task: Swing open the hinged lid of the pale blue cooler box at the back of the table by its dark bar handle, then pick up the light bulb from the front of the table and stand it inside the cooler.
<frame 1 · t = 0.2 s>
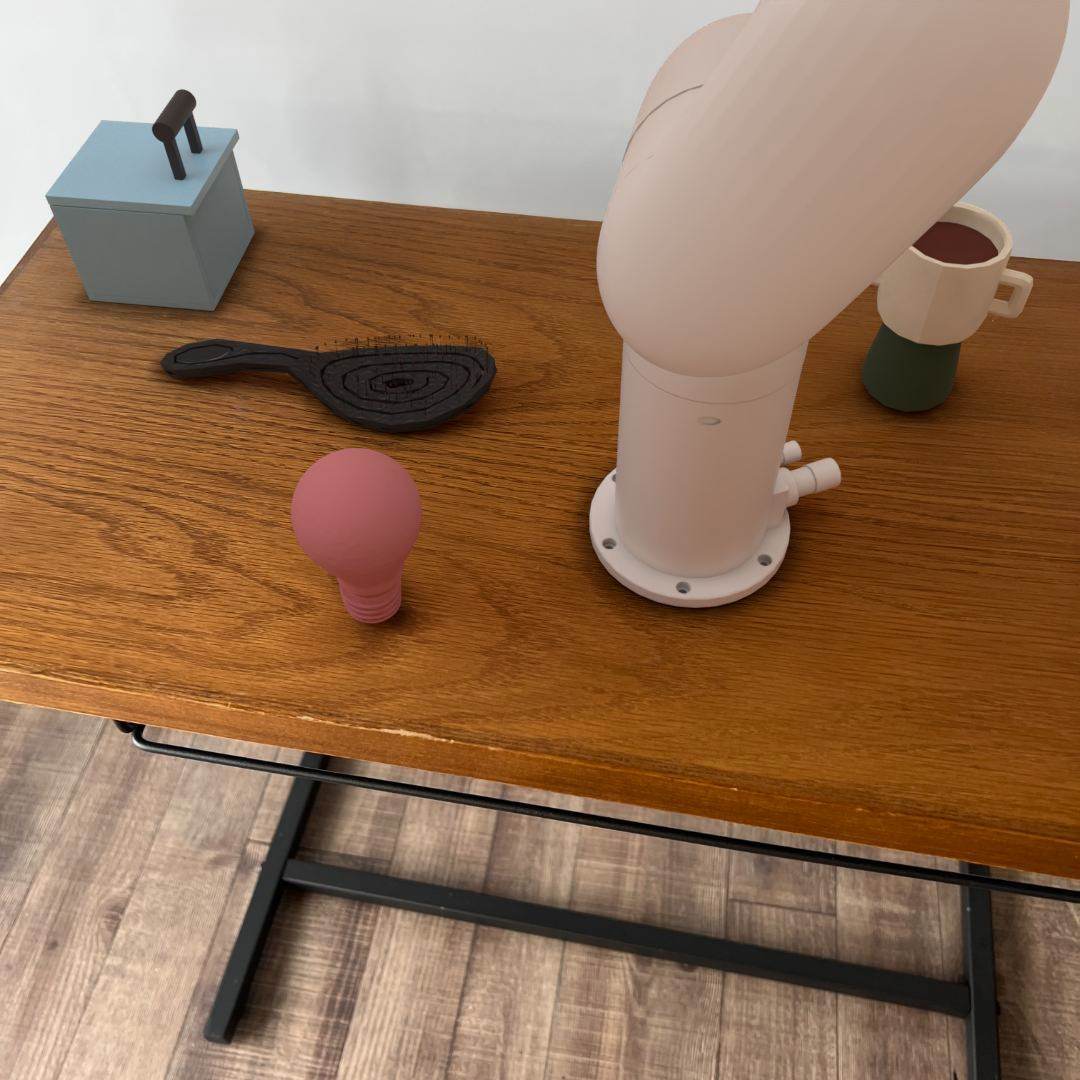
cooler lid: (136, 137, 79), point 11 cm above the table, hinge at 0.0°
cooler: (174, 265, 87), on the table
light bulb: (378, 604, 66), on the table
cream handled cup: (902, 389, 77), on the table
hairbrush: (328, 387, 78), on the table
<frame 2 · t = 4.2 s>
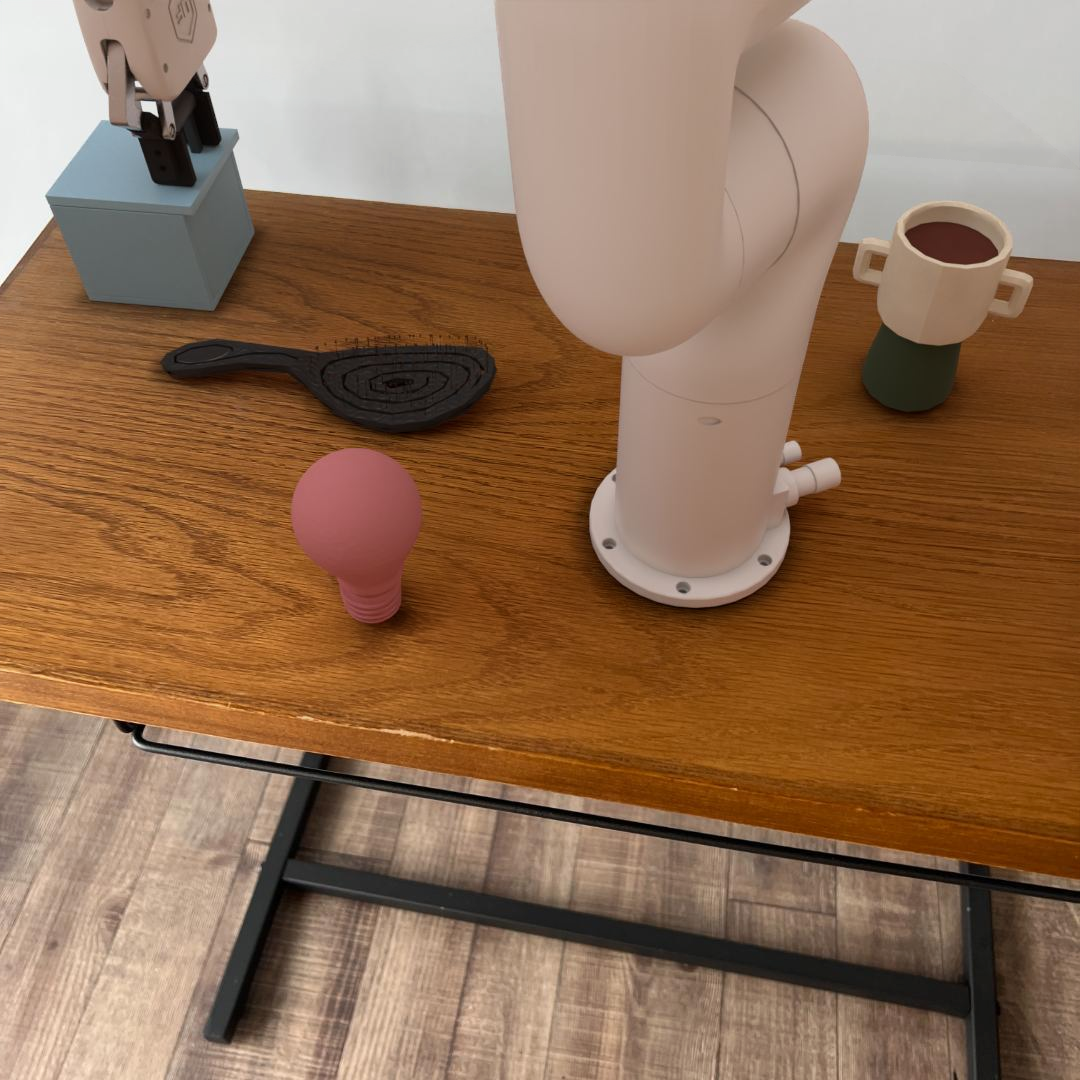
hand: (188, 160, 79), 10 cm above the table, tool pointing down, fingers closed on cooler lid, 4 cm apart
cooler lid: (136, 137, 79), point 11 cm above the table, hinge at 0.0°, touching gripper
everything else where it was.
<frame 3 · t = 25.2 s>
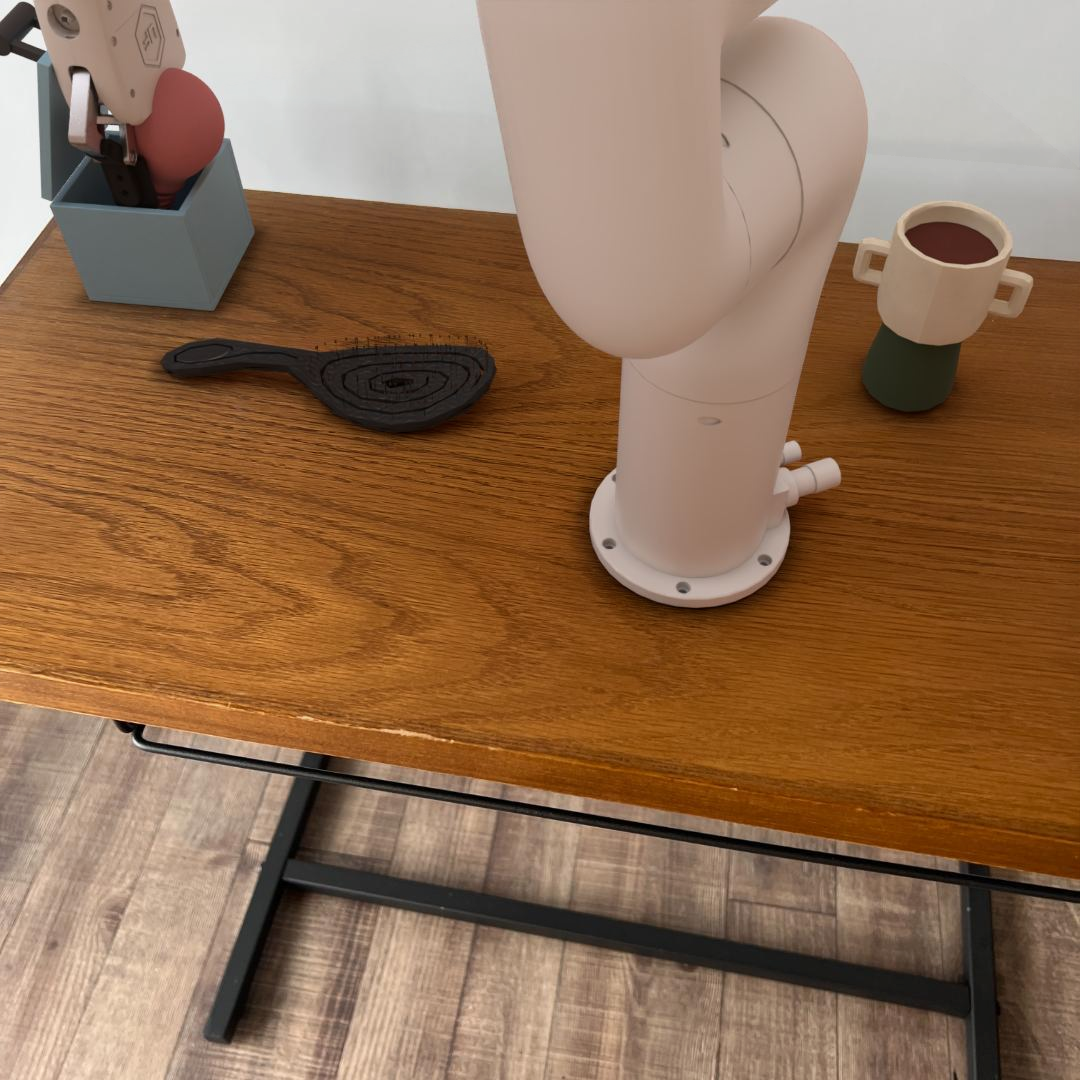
hand: (157, 176, 81), 8 cm above the table, tool pointing down, fingers closed on light bulb, 6 cm apart
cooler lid: (43, 84, 76), point 15 cm above the table, hinge at 69.6°
light bulb: (146, 209, 83), point 5 cm above the table, touching gripper
everything else where it was.
when the fingers open (9 cm above the table, at t = 36.0 s): light bulb drops 6 cm, resting on cooler.
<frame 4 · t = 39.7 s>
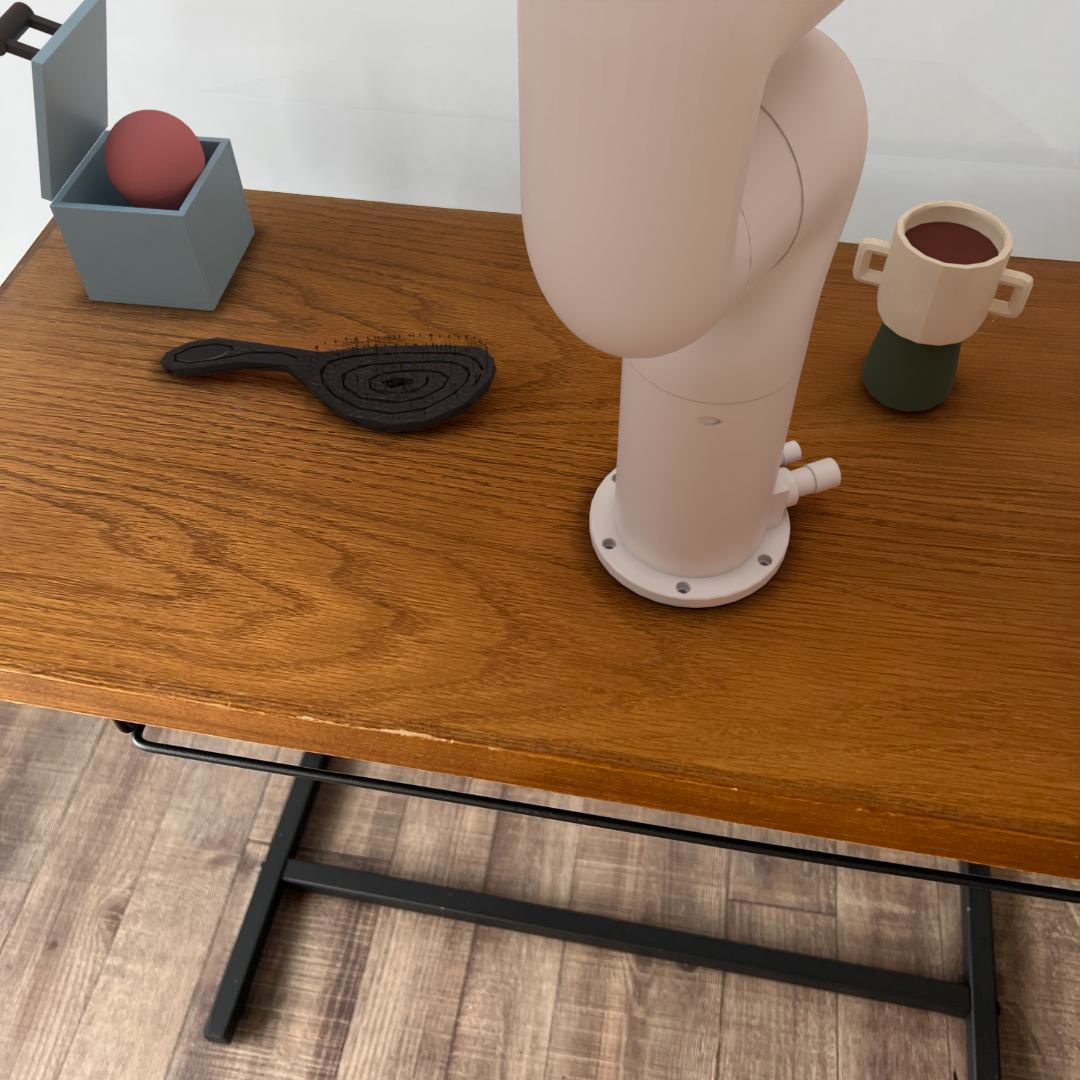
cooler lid: (40, 84, 76), point 15 cm above the table, hinge at 71.5°
light bulb: (190, 260, 87), point 1 cm above the table, touching cooler
everything else where it was.
at the end: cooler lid at +72° (first picture: +0°); light bulb inside the target area in the cooler (1.4 cm from its centre), point 0.5 cm above the cooler's base; light bulb tilted 4° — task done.
